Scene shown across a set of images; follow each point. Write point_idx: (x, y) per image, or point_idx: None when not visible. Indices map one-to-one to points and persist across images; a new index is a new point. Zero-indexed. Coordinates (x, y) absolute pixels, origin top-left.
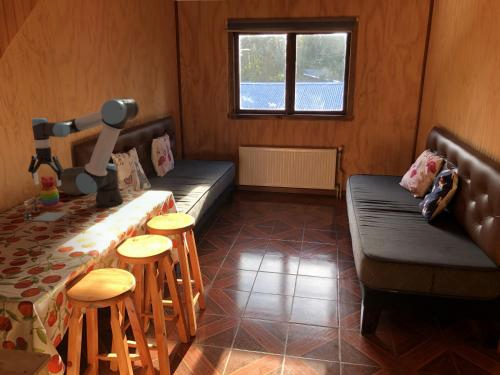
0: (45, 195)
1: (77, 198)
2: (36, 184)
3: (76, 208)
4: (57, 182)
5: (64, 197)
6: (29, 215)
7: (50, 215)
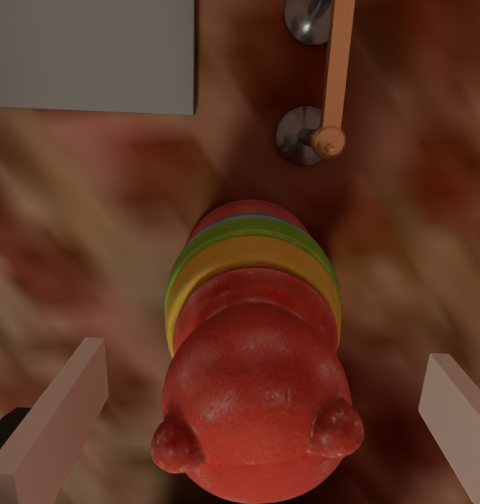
0: (242, 230)
1: None
2: (429, 369)
3: (34, 255)
4: (68, 369)
5: None
6: (296, 7)
7: (103, 29)
